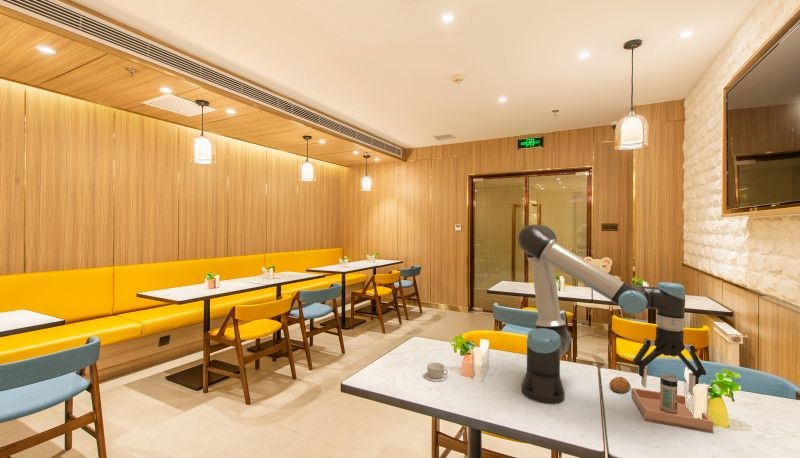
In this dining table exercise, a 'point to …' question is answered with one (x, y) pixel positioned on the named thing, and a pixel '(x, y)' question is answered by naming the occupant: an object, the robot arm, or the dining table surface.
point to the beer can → (668, 393)
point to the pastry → (619, 384)
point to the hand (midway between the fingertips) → (667, 389)
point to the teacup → (436, 372)
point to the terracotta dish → (653, 413)
